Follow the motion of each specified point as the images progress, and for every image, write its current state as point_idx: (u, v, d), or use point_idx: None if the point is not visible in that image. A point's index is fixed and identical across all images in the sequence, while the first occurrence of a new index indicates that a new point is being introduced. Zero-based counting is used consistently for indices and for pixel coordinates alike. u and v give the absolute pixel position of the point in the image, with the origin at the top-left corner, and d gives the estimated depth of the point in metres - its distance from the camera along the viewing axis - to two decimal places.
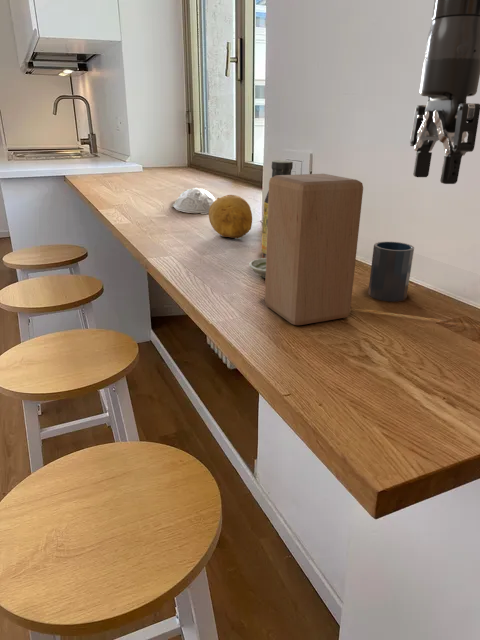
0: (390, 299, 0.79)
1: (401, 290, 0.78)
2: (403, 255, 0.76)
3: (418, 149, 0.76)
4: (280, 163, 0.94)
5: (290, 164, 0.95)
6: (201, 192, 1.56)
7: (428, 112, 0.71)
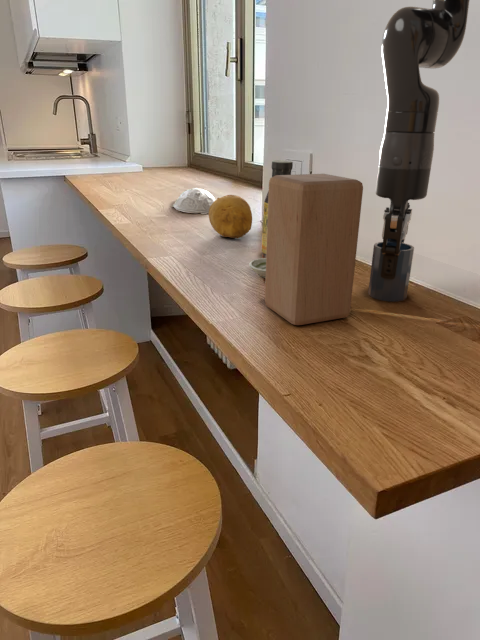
0: (390, 299, 0.79)
1: (401, 290, 0.78)
2: (402, 255, 0.76)
3: None
4: (280, 163, 0.94)
5: (290, 164, 0.95)
6: (201, 192, 1.56)
7: (386, 209, 0.78)
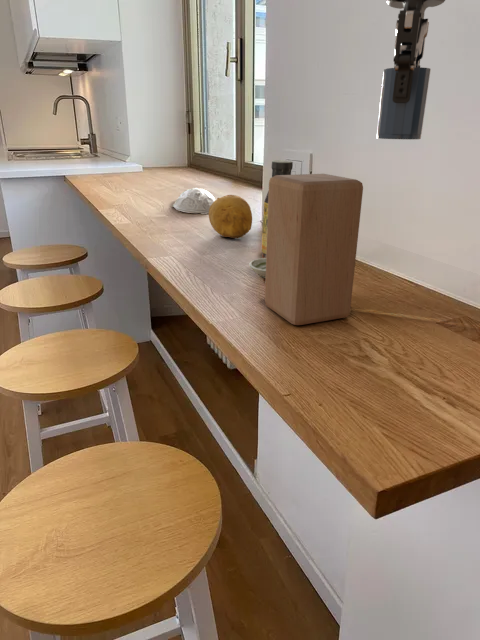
0: (403, 131, 0.68)
1: (415, 120, 0.68)
2: (418, 74, 0.66)
3: None
4: (280, 163, 0.94)
5: (290, 164, 0.95)
6: (201, 192, 1.56)
7: None
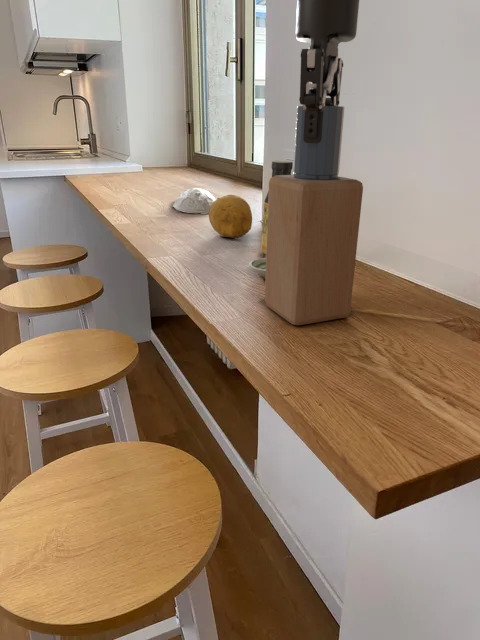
0: (316, 171, 0.65)
1: (329, 160, 0.65)
2: (328, 113, 0.62)
3: None
4: (280, 163, 0.94)
5: (290, 164, 0.95)
6: (201, 192, 1.56)
7: None
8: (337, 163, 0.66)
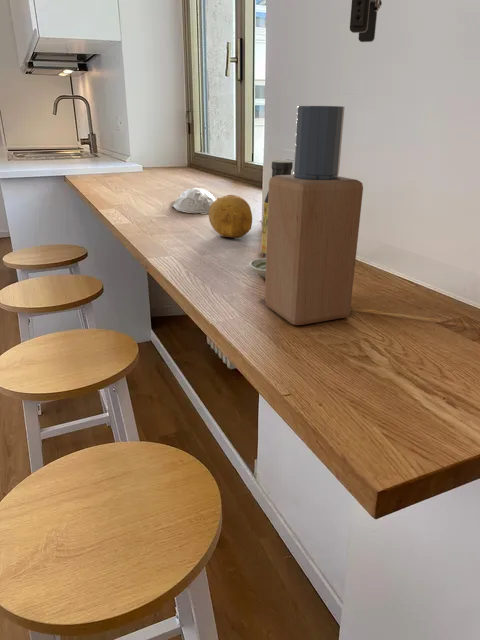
0: (316, 171, 0.65)
1: (329, 160, 0.65)
2: (328, 113, 0.62)
3: None
4: (280, 163, 0.94)
5: (290, 164, 0.95)
6: (201, 192, 1.56)
7: None
8: (337, 163, 0.66)
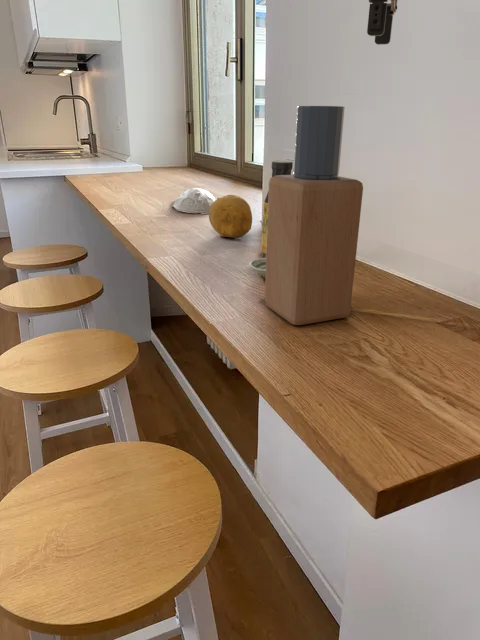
0: (316, 171, 0.65)
1: (329, 160, 0.65)
2: (328, 113, 0.62)
3: None
4: (280, 163, 0.94)
5: (290, 164, 0.95)
6: (201, 192, 1.56)
7: None
8: (337, 163, 0.66)
